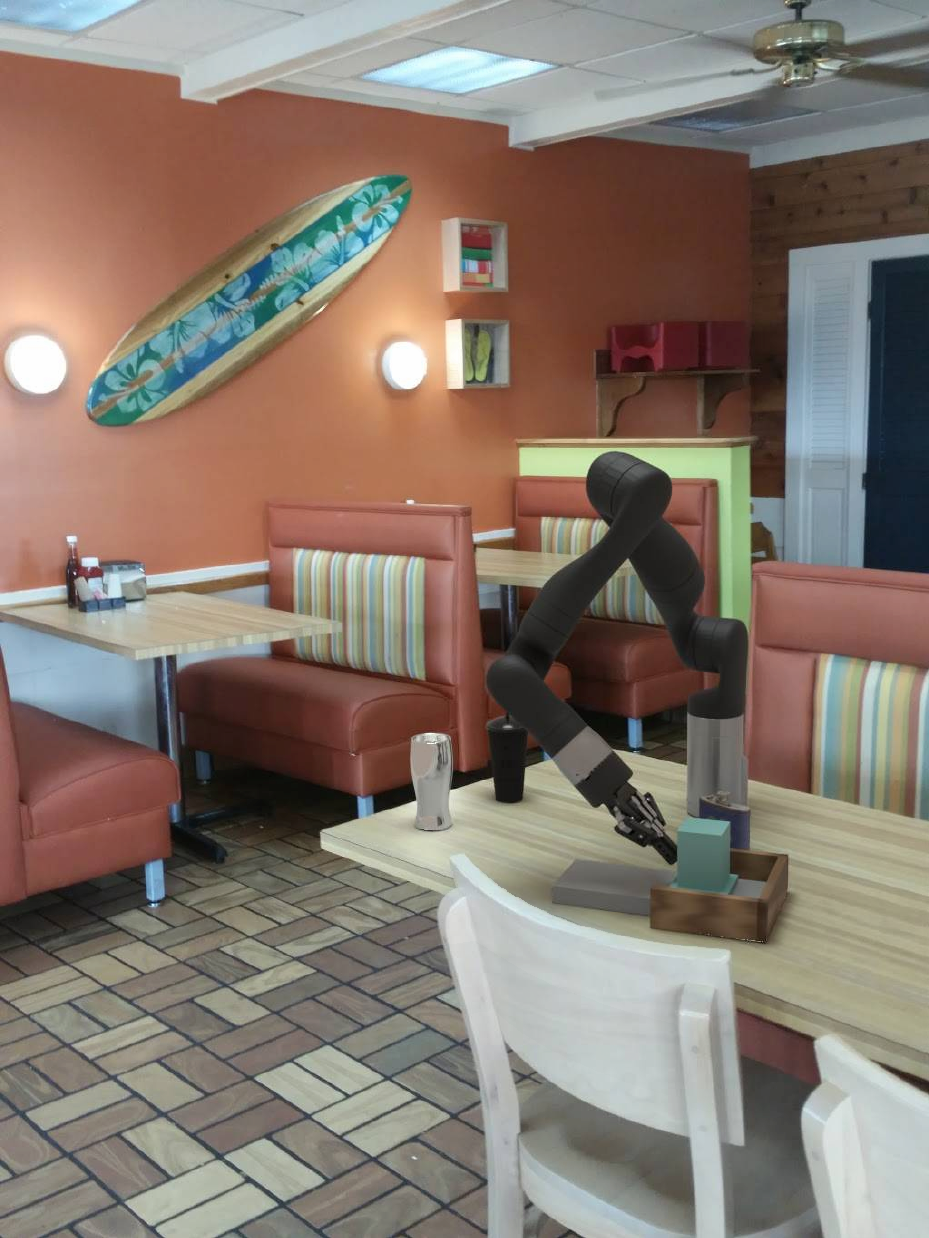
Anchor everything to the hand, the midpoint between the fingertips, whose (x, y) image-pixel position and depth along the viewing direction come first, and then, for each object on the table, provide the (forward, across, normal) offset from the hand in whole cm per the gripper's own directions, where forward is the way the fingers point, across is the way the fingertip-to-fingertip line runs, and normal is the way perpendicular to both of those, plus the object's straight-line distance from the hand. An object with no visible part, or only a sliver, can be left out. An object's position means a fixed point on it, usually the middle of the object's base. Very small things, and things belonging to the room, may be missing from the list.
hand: (677, 859), depth 178 cm
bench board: (+3, 0, -6) cm, 7 cm away
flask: (+6, -19, -3) cm, 20 cm away
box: (+8, 0, -1) cm, 8 cm away
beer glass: (-28, -19, -37) cm, 50 cm away
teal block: (+5, 0, 0) cm, 5 cm away
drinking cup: (-22, -36, -32) cm, 53 cm away
